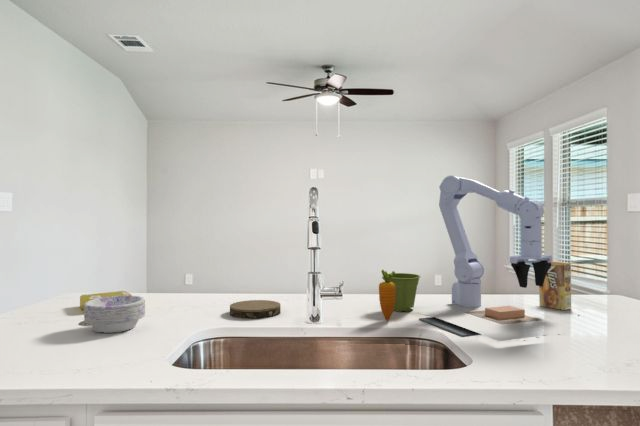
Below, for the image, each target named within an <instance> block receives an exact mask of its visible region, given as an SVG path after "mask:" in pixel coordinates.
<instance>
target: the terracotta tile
mask: <svg viewBox="0 0 640 426" xmlns="http://www.w3.org/2000/svg"><path fill="white" fill-rule="evenodd" d="M484 310H485V315H488V316H491V317H494V318H498V319H506V318H516V317H525V315H526V314H525V313H526V309H524V308H519V307H515V306H511V305H502V306H493V307H492V306H491V307H485V308H484Z"/></svg>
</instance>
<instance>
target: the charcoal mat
mask: <svg viewBox="0 0 640 426" xmlns="http://www.w3.org/2000/svg"><path fill="white" fill-rule="evenodd" d="M419 321H422V322H424V323H427V324H429V325H432V326H434V327H437V328H439V329H441V330H445V331H447V332H449V333H451V334H454V335H458V336H459V337H462V338H463V337H472V336H481V335H482V333H480V332H477V331H473V330H472V329H469V328H465V327H463V326H460V325H457V324H455V323H452V322H449V321H446V320H443V319H441V318H438V317H436V316H429V317H419Z"/></svg>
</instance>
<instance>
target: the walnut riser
mask: <svg viewBox="0 0 640 426" xmlns="http://www.w3.org/2000/svg"><path fill="white" fill-rule="evenodd" d="M464 313H465V314H468V315H472V316H475V317H478V318H480V319H484V320H487V321H491V322H494V323H497V324H500V325H510V324H517V323H519V324H520V323H527V322H528V323H530V322H538V321H542V319H540V318H537V317H533V316H529V315H526V314H525V317H516V318H506V319H498V318H494V317H491V316H488V315H485V309H484V310H475V311H465V312H464Z"/></svg>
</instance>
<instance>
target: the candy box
mask: <svg viewBox="0 0 640 426" xmlns="http://www.w3.org/2000/svg"><path fill="white" fill-rule="evenodd" d="M548 263H551V267H550V268H549V270H548V272H547V274H546V277H545V280H544V284H543V286H538V288H539V289H538V290H539V292H538V293H539V294H538V295H539V297H538V298H539V300H538V301H539V302H538V303H539V307H544V308H549V307H550V309H555V310H560V309H561V311H568V310H571V309H572V277H571V275H572V274H571V273H572V268H571V267H572V266H571V262H566V261H556V260H554V261H553V260H552V262H548Z"/></svg>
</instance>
